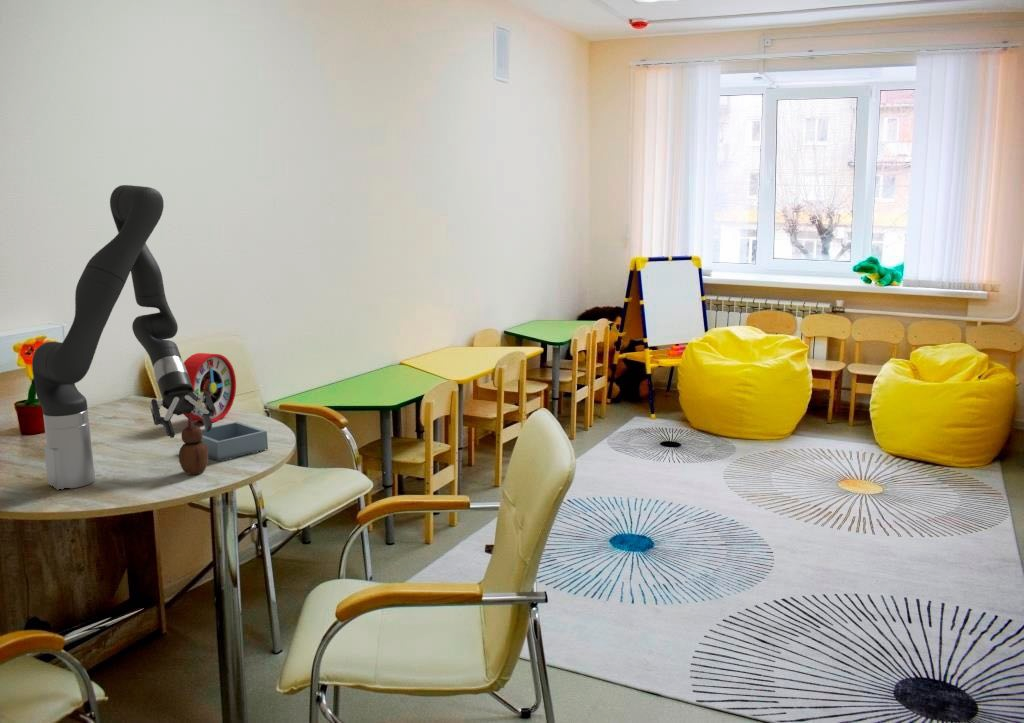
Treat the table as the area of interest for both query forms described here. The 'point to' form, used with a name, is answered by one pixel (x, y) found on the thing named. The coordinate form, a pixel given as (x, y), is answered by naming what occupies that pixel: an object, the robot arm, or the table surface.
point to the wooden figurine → (193, 449)
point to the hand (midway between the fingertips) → (191, 433)
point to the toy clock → (212, 382)
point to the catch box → (233, 440)
